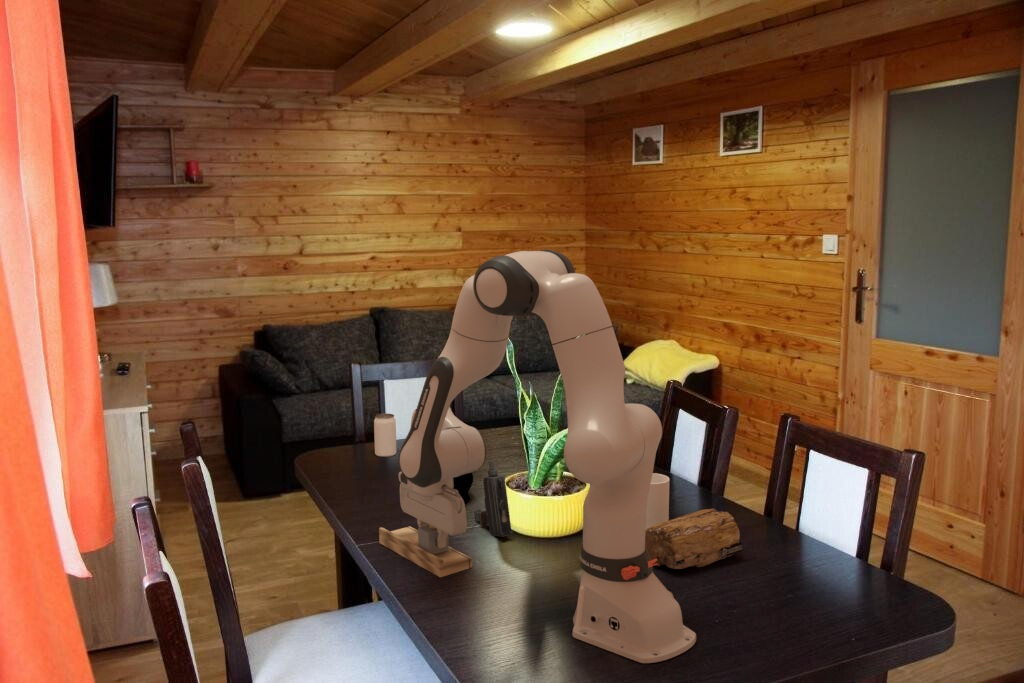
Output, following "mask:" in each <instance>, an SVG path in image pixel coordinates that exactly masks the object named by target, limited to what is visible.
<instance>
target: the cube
mask: <svg viewBox="0 0 1024 683" xmlns="http://www.w3.org/2000/svg"><path fill="white" fill-rule="evenodd" d="M417 530H418V547H420V548H422V549H424V550H425V551H427V552H429V553H431V554H433V555H435V554H438V553H442V552H445V551H448V550H449V547H450V546H449V534H448V536H447V538H446V546H445V547H443V548H439V547H437V546H435V539H436V538H438V535H439V533H438V532H437V528H435V527H433V526H431V525H429V524H428V525H427V526H423V527H419V526H418V528H417Z"/></svg>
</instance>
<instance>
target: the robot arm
mask: <svg viewBox="0 0 1024 683" xmlns="http://www.w3.org/2000/svg"><path fill="white" fill-rule="evenodd" d="M531 313H534V314H536V315H537V316H538V317H540V318H541V319H542V320H543V322H544V324H545V326H546V328H547V331H548V335H549V339H550V342H551V346H552V348H553V352H554V355H555V358H556V363H557V365H558V369H559V372H560V375H561V379H562V383H563V388H564V392H565V400H566V413H567V414H566V415H567V416H566V417H567V437H566V440H565V444H564V446H563V447H564V448H563V458H564V463H565V465H566V468H567V469H568V471H569V472H570V474H572V476H573V477H574V478H576V479H577V480H578V481H580V482H582V483H584V484H588V485H589V488H588V491H587V494H586V495H585V497H584V498H585V499H584V500H583V506H582V543H581V545H580V552H579V565H580V568H581V578H580V583H579V588H578V597H577V603H576V604H577V605H576V609H575V612H574V615H573V617H572V622H573V628H572V634H571V635H572V638H574V639H576V640H580V641H582V642H584V643H587V644H590V645H591V646H595V647H598V648H600V649H603V650H606V651H608V652H611V653H614V654H616V655H619V656H622V657H625V658H627V659H630V660H633V661H634V662H638V663H641V664H652V663H659V662H663V661H667V660H669V659H672V658H675V657H677V656H679V655H681V654H683V653H685V652H686V651H688V650H689V649H691V648H692V647H693V646H694V645H695V643H696V642H697V633H696V632H695V631H693V630H692V629H690V628H689V627H688V626H686V625H684V623H683V614H682V610H681V606H680V603H679V602H678V601H677V600H676V599H675V598H674V594H673V593H672V592H671V590H670V591H669V590H668V588H666V586H665V585H664V584H663V583H662V582H661V580H660V579H659V578H658V577H657V576H656V575H655V573H654V571H653V570H654V568H653V567H654V566H657V563H656V564H653V563H655V562H656V561H657V559H654V560H650V557H649V553H648V550H647V547H646V546H645V534H646V507H647V499H648V493H649V488H650V484H651V479H652V474H653V473H654V467H655V462H656V456H657V455H656V454H657V451H658V448H659V444H660V442H661V439H662V437H663V436H662V435H663V426H662V422H661V420H660V418H659V416H658V414H657V413H656V412H655V411H654V410H653V409H652V408H650V407H648V406H647V405H645V404H642V403H633V402H631V403H630V402H629V403H625V390H624V387H625V386H624V383H625V382H624V381H625V376H626V365H625V362H624V359H623V356H622V352H621V349H620V346H619V342H618V340H617V336H616V332H615V330H614V327H613V324H612V323H613V322H612V320H611V317H610V315H609V312H608V309H607V307H606V305H605V303H604V300H603V298H602V296H601V294H600V292H599V290H598V288H597V286H596V285H595V283H594V281H593V280H592V279H591V278H590V277H589V276H587V275H586V274H583V273H578V272H576V269H575V267H574V265H573V263H572V261H571V259H569V257H568V256H567V255H565V254H563V253H561V252H559V251H556V250H552V249H541V250H530V251H529V250H528V251H527V250H521V251H520V250H519V251H515V252H510V253H508V254H504V255H502V254H501V255H495V256H494V257H491V258H489V259H488V260H486V261H485V262H483V263H482V264H481V265H479V267H478V268H477V270H476V271H475V274H474V275H472V276H469V277H468V278H467V279H466V280H465V282H464V284H463V285H462V288H461V290H460V292H459V296H458V299H457V301H456V304H455V309H454V313H453V317H452V322H451V327H450V332H449V336H448V339H447V341H446V343H445V346H444V348H443V349H442V351H441V353H440V355H439V356H438V358H437V359H436V360H435V361H433V363H432V365H431V366H430V368H429V370H428V373H427V376H426V378H425V381H424V384H423V387H422V391H421V394H420V396H419V400H418V402H417V403H418V404H417V406H416V408H415V409H414V410H413V413H412V415H411V421H410V428H409V431H408V434H407V435H406V437H405V439H404V441H403V442H402V445H401V447H400V450H399V454H398V465H399V469H400V471H399V472H398V480H399V482H400V483H399V503H400V507H401V510H402V512H403V513H404V514H405V513H406V514H407V515H410V516H412V517H413V518H415V519H416V523H417V525H418V528H419V527H423V526H427V525H431V526H433V527H435V528H437V532H438V533H439V535H438V538H436V539H435V546H437V547H439V548H443V547H445V546H446V538H447V536H448V534H449V535H450V536H452V537H455V536H459V535H461V534H462V535H463V534H464V533H465V532H466V531H467V529H468V520H467V511H466V504H464V501H463V499H462V497H461V496H460V494H459V492H458V491H457V490H456V489H453V478H454V477H457V476H460V475H463V474H467V473H470V472H472V473H473V472H475V471H477V470H481V468H482V466H483V465H484V464H485V462H486V458H487V455H488V454H487V452H488V449H487V442H486V439H485V437H484V435H483V434H482V432H481V431H480V430H478V429H477V428H476V427H474V426H471V425H468V424H466V423H464V422H463V421H462V420H460V419H459V418H458V417H457V416H456V415H454V413H453V411H452V408H451V406H450V405H451V404H452V403H453V401H454V399H455V398H456V397H457V396H458V395H460V393H461V392H462V391H464V390H465V389H466V388H468V387H470V386H471V385H473V384H475V383H476V382H478V381H479V380H481V379H483V378H486V377H487V376H490V374H492V373H493V372H494V371H496V370H497V369H498V368H499V367H500V365H501V363H502V362H503V359H504V357H505V354H506V351H507V346H508V342H509V336H510V329H511V324H512V320H513V317H529V315H530V314H531Z"/></svg>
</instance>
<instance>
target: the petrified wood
mask: <svg viewBox="0 0 1024 683" xmlns="http://www.w3.org/2000/svg"><path fill="white" fill-rule="evenodd" d="M740 537H741V533H740V529H739V527H738V524H737V522H736V521H735V518H734V516H732V514H730V513H729V511H723V510H721V511H718V510H717V509H715V508H707V509H701V510H697V511H694V512H692V513H688V514H684V515H680V516H679V517H676V518H672V519H669V521H666V522H662V523H658V524H656V525H654V526H651V527H650V528H648V529H646V534H645V546H646V547H647V550H648V553H649V557H650V560H654V559H657V561H656V562H655V563H653V564H656V563H657V565H656V566H657V567H660V566H663V565H666V567H667V568H670V569H674V570H682V569H687V568H690V567H695V568H702V567H706V566H708V565H711V564H712V563H715V562H717V561H720V560H723V559H726V558H729V557H731V556H733V555H735V554H738V553H741V552H743V544H742V541H740Z"/></svg>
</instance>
